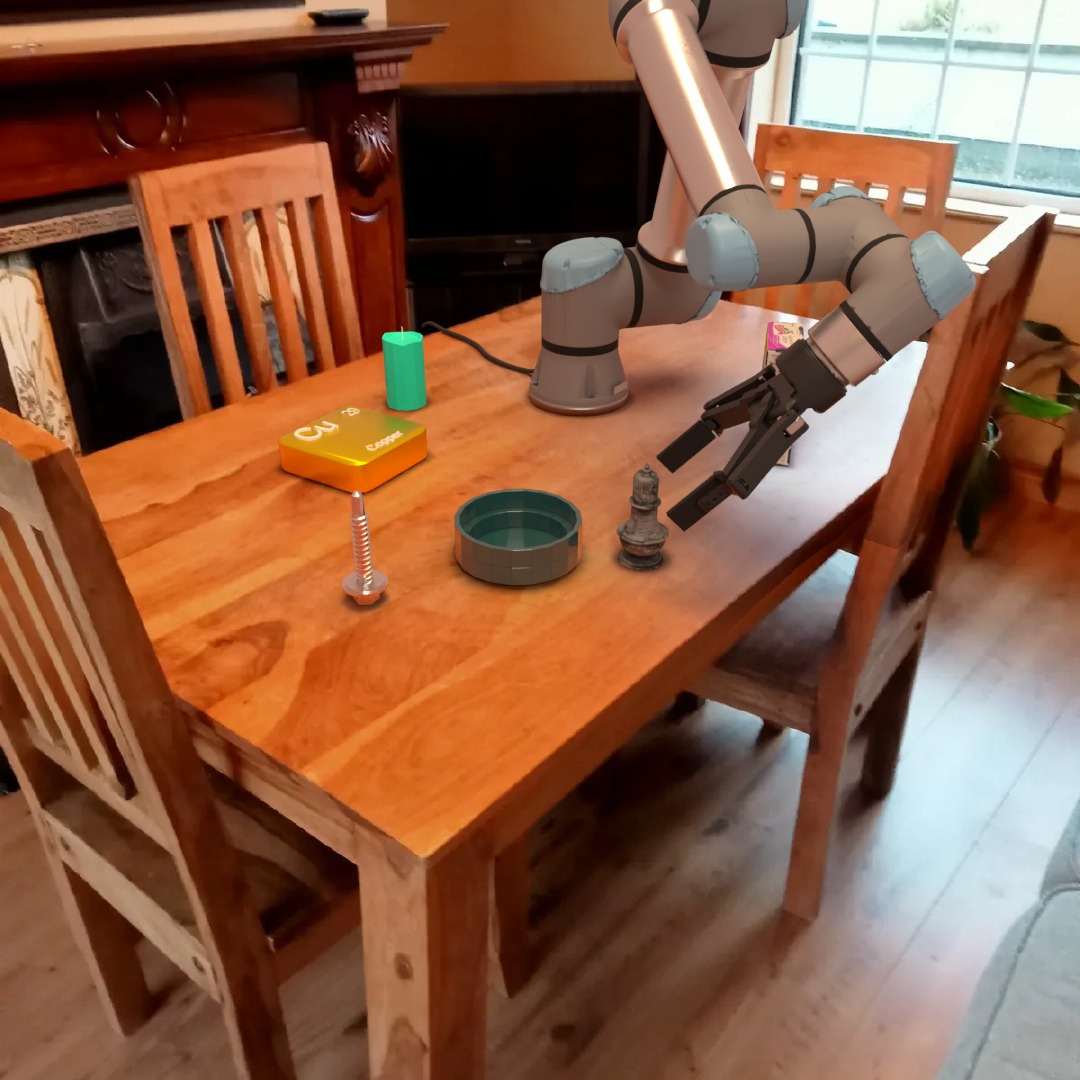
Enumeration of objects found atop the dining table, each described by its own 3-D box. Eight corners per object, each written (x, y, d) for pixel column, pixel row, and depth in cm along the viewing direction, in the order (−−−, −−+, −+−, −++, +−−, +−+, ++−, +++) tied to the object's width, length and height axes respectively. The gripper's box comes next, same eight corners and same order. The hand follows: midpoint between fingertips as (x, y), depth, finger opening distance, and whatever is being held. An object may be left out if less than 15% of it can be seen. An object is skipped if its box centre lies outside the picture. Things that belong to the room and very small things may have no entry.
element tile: (361, 497, 127) (358, 463, 125) (275, 469, 134) (270, 436, 132) (434, 454, 138) (432, 422, 136) (350, 430, 145) (347, 399, 143)
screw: (377, 581, 110) (397, 602, 107) (336, 594, 108) (354, 616, 105) (368, 475, 104) (388, 493, 100) (323, 486, 102) (343, 505, 98)
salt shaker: (632, 576, 111) (638, 479, 105) (605, 552, 116) (609, 457, 110) (677, 564, 114) (685, 468, 108) (648, 540, 118) (655, 447, 112)
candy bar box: (753, 430, 146) (767, 320, 137) (789, 434, 145) (804, 322, 137) (751, 464, 136) (766, 347, 128) (789, 467, 135) (806, 350, 127)
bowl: (430, 566, 113) (428, 527, 111) (501, 514, 124) (500, 478, 121) (538, 603, 107) (538, 563, 104) (602, 546, 117) (604, 508, 115)
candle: (379, 407, 153) (373, 330, 147) (399, 393, 158) (393, 318, 152) (415, 413, 151) (410, 335, 145) (433, 398, 156) (429, 323, 150)
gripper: (882, 437, 93) (704, 573, 101) (823, 347, 115) (681, 464, 123) (832, 382, 91) (654, 526, 98) (782, 300, 112) (639, 423, 120)
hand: (669, 492), depth 110 cm, fingers open, 13 cm apart
